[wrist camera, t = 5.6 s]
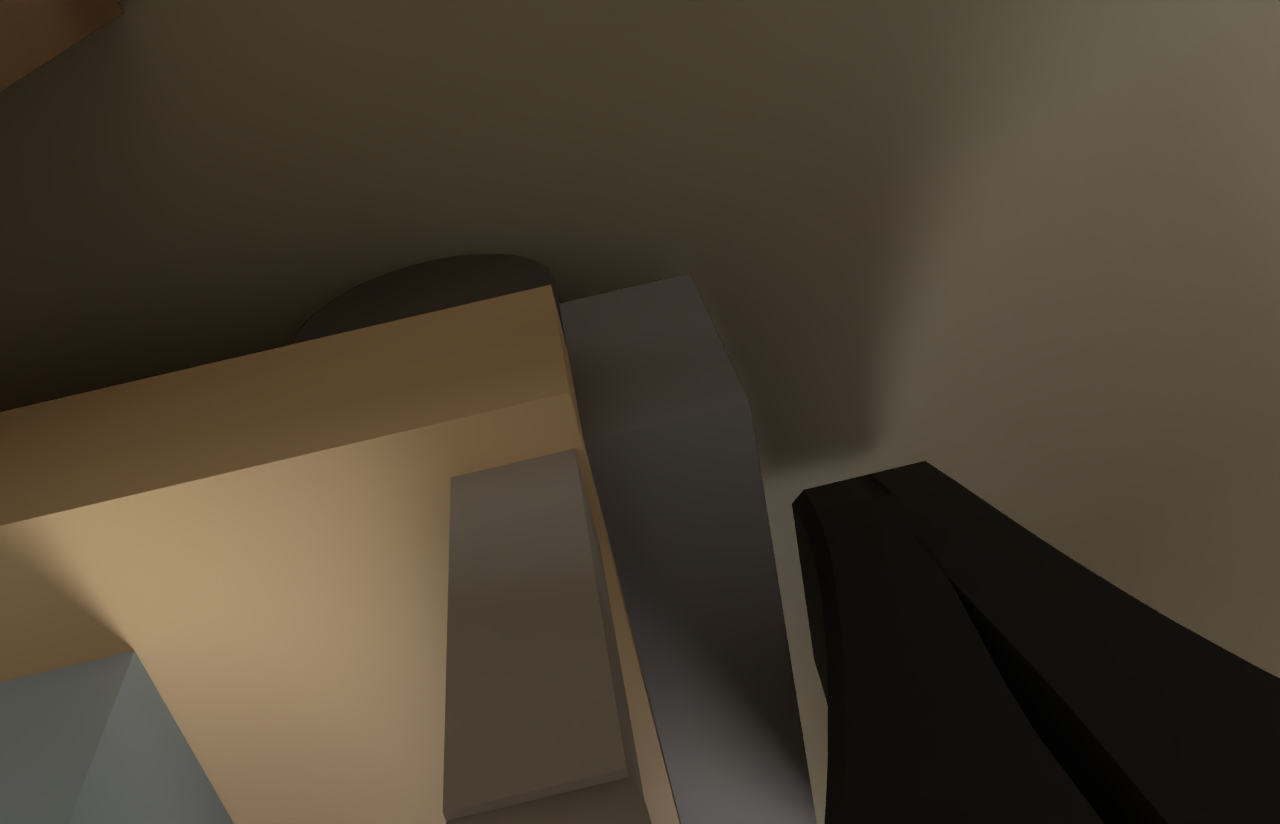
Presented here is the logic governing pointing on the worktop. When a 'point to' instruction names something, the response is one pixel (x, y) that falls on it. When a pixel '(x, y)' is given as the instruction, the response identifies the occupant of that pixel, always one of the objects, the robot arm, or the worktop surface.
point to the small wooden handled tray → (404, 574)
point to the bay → (45, 31)
